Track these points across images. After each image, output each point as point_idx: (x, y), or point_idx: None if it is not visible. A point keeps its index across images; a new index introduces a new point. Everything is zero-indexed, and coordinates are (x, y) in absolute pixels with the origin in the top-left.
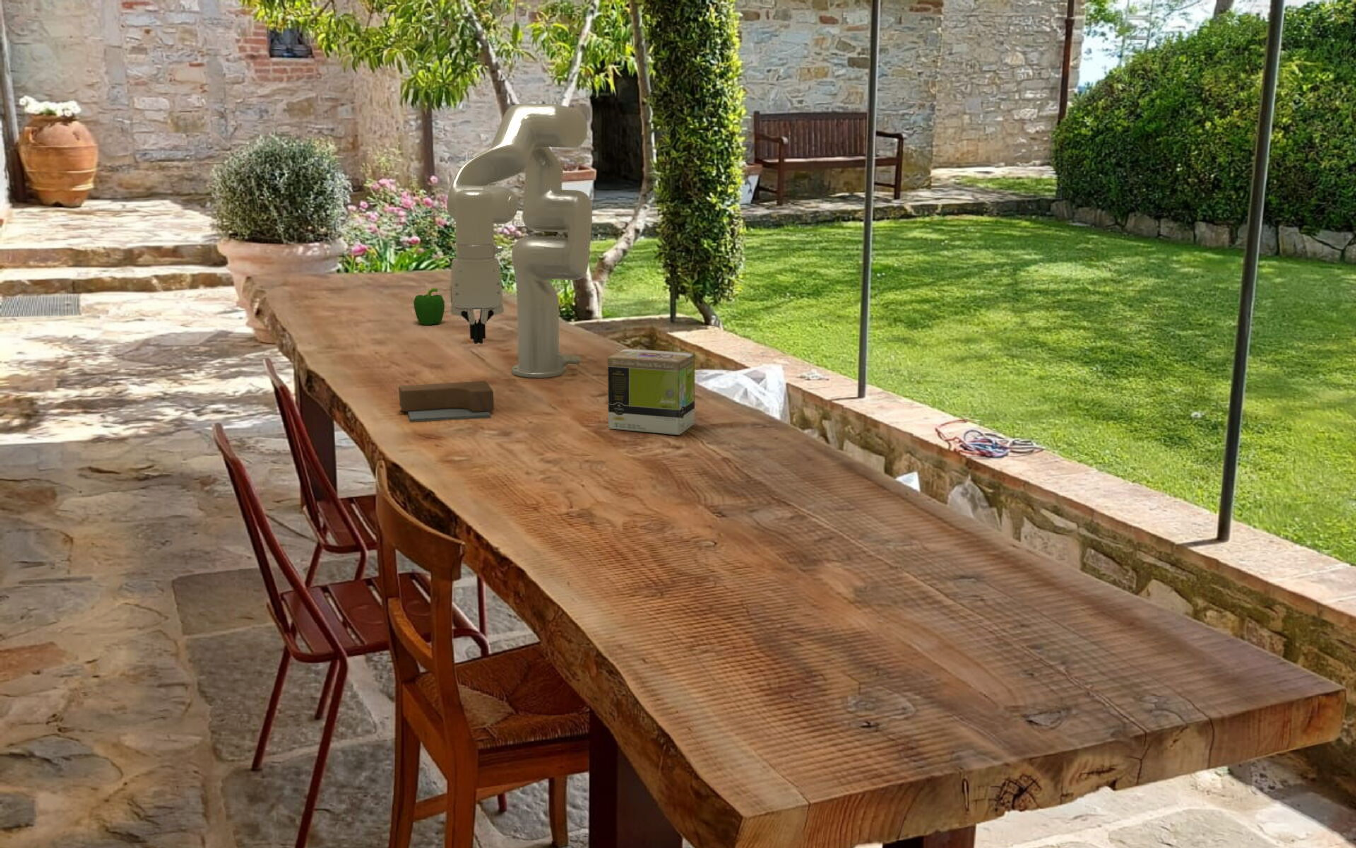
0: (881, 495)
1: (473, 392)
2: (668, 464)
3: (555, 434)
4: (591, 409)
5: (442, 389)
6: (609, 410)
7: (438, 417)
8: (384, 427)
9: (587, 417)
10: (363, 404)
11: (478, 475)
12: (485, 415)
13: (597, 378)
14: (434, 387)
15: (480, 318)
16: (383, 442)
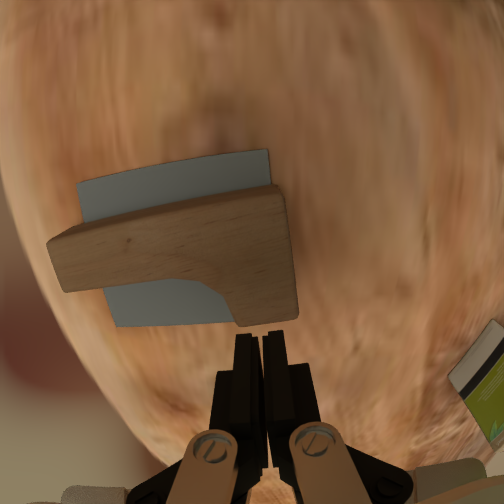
0: (483, 460)
1: (242, 326)
2: (426, 456)
3: (372, 403)
4: (476, 262)
5: (151, 280)
6: (459, 394)
7: (168, 325)
8: (89, 346)
9: (452, 316)
10: (14, 175)
11: (253, 489)
12: None
13: (498, 17)
14: (127, 274)
15: (294, 476)
16: (119, 410)
